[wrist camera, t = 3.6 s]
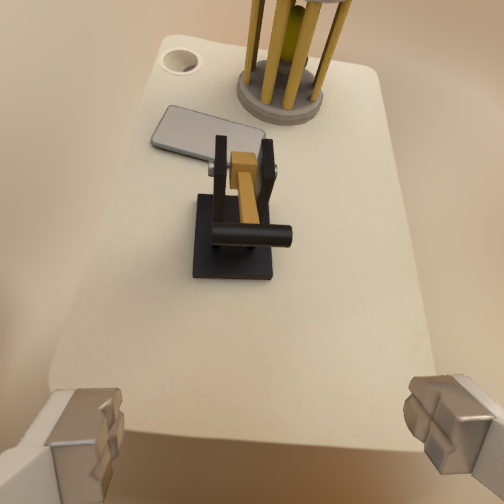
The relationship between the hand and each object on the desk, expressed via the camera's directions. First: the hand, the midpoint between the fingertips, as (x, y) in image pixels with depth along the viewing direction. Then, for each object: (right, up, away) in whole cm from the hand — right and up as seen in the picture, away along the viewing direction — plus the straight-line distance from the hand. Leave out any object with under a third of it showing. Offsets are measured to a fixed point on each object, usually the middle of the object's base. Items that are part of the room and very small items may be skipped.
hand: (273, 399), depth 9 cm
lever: (-1, +8, +16) cm, 18 cm away
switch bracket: (-3, +6, +29) cm, 30 cm away
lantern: (+4, +30, +43) cm, 53 cm away
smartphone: (-7, +20, +36) cm, 42 cm away
